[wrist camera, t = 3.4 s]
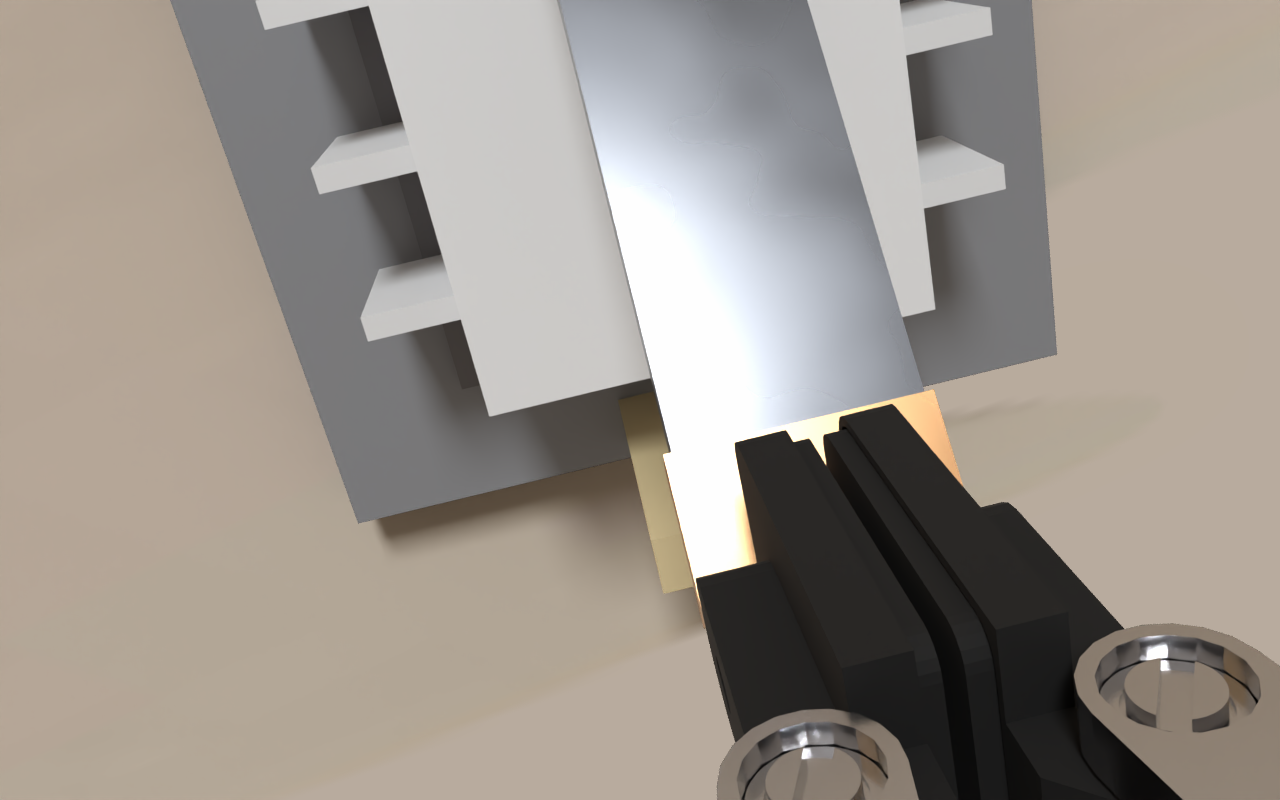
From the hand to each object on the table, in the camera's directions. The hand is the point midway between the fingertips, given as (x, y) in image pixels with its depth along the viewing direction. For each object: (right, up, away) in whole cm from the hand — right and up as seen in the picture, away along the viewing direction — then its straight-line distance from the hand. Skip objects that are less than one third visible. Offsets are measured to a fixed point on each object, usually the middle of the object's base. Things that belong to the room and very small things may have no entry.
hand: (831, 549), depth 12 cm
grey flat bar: (-1, +7, +4) cm, 8 cm away
